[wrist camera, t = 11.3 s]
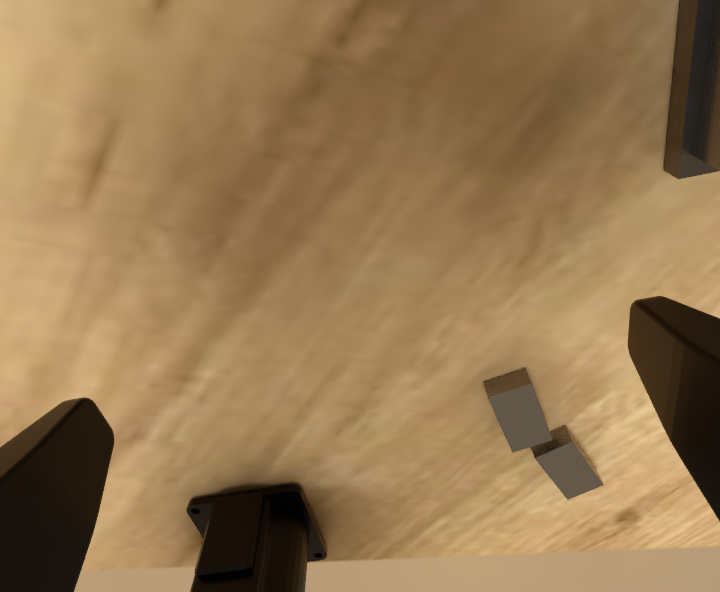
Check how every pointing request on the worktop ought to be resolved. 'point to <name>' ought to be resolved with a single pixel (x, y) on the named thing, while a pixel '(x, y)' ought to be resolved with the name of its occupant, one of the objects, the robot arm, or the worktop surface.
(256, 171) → the worktop surface
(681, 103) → the keeper
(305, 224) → the worktop surface
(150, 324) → the worktop surface
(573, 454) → the wood sided gray block
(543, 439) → the grey topped wooden tile
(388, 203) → the worktop surface
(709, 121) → the hollow square frame
